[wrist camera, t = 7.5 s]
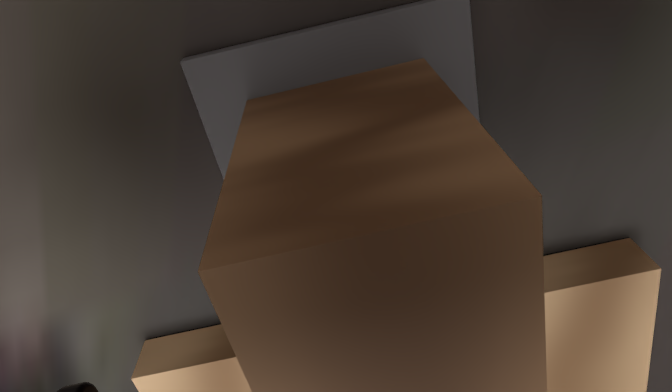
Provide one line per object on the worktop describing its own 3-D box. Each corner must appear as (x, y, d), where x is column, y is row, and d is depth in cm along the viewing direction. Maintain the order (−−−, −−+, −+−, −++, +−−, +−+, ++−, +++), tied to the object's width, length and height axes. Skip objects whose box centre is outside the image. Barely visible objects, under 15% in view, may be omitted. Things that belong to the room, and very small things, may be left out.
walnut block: (423, 57, 13) (542, 195, 6) (444, 210, 15) (547, 421, 9) (246, 100, 13) (197, 271, 7) (293, 244, 15) (288, 473, 9)
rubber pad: (464, -10, 12) (468, -8, 12) (485, 229, 16) (489, 236, 15) (183, 57, 13) (180, 61, 12) (263, 276, 16) (262, 285, 16)
